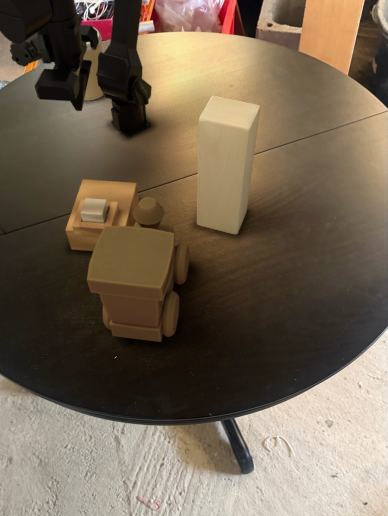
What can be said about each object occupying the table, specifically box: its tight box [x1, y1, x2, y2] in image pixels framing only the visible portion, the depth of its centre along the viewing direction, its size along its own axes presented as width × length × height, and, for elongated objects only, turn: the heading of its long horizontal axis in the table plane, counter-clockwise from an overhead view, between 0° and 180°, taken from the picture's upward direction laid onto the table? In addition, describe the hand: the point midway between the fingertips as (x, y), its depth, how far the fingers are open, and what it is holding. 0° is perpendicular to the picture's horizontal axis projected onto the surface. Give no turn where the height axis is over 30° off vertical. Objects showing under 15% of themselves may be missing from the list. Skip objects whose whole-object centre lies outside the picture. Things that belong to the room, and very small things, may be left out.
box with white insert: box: [65, 178, 140, 252], centre depth 84 cm, size 14×10×6 cm
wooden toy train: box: [86, 196, 190, 343], centre depth 71 cm, size 20×11×17 cm, turn 172°
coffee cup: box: [83, 26, 104, 101], centre depth 105 cm, size 9×9×12 cm
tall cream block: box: [196, 95, 261, 235], centre depth 79 cm, size 8×7×21 cm
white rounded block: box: [81, 198, 108, 223], centre depth 79 cm, size 4×4×2 cm
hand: (79, 109), depth 86 cm, fingers closed
